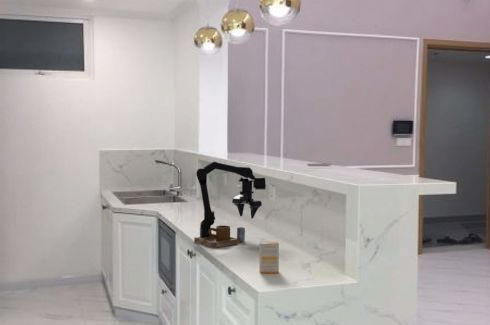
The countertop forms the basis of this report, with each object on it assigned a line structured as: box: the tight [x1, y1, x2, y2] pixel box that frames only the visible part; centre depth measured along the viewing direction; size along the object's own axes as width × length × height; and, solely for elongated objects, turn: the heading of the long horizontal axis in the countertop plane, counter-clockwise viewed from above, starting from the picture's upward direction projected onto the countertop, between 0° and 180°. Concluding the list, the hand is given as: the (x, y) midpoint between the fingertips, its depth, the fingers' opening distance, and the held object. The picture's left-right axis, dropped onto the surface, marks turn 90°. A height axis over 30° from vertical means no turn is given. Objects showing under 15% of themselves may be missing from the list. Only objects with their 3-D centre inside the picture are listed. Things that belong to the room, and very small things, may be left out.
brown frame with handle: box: [193, 226, 246, 248], centre depth 302 cm, size 18×24×7 cm
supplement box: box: [258, 240, 280, 274], centre depth 243 cm, size 8×5×13 cm, turn 92°
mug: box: [208, 225, 231, 242], centre depth 297 cm, size 12×8×9 cm, turn 109°
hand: (246, 217), depth 312 cm, fingers open, 9 cm apart
